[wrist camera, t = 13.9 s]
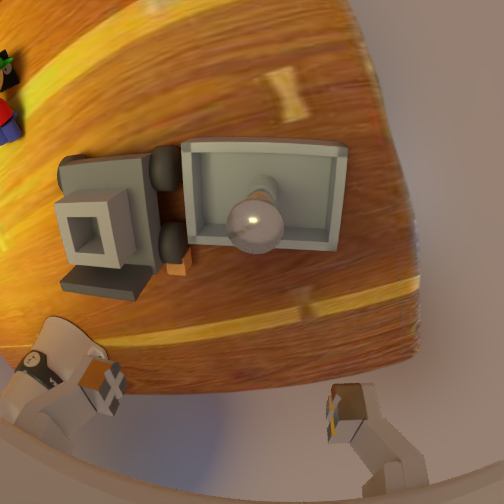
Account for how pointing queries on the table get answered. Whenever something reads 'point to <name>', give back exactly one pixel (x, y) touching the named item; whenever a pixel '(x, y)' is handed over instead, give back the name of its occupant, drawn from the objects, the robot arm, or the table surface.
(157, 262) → the trolley
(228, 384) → the table surface
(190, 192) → the tray
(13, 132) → the toy
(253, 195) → the pin
